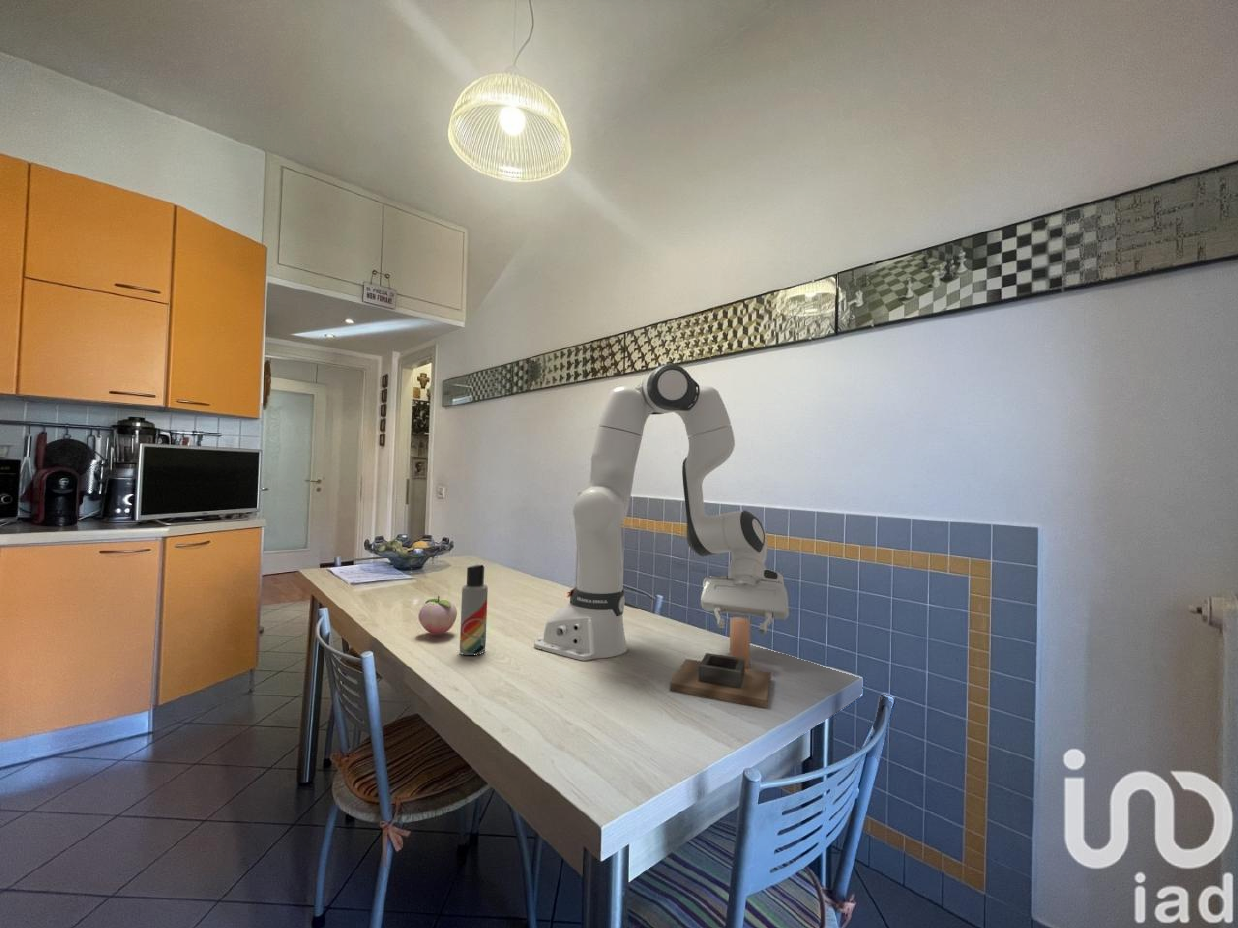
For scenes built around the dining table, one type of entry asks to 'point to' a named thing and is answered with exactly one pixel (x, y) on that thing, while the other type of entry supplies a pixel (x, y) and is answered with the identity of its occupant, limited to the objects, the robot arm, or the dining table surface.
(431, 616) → the decorative fruit
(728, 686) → the collar stand
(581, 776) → the dining table surface
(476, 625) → the lotion bottle
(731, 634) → the peg
